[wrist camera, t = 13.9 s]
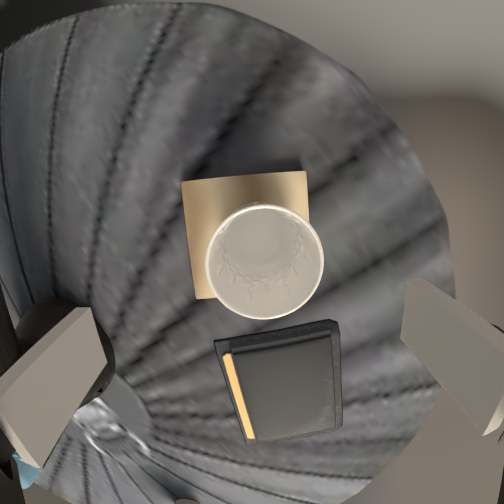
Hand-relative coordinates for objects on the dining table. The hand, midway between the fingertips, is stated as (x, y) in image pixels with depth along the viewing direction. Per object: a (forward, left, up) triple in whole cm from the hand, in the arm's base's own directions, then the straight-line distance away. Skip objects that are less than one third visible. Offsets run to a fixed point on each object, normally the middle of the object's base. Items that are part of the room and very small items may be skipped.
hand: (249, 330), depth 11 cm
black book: (+3, -21, -21) cm, 30 cm away
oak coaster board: (0, 0, -20) cm, 20 cm away
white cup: (+1, 0, -19) cm, 19 cm away
